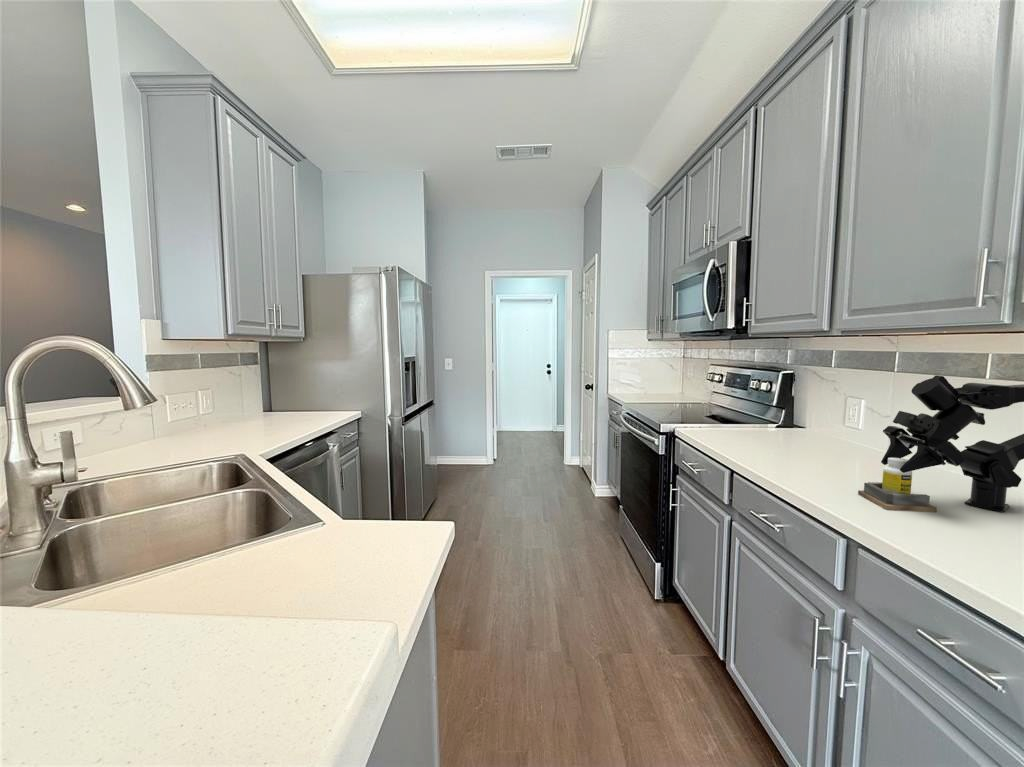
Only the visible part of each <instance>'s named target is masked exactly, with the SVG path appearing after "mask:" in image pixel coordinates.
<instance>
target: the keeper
mask: <svg viewBox="0 0 1024 767" xmlns="http://www.w3.org/2000/svg"><path fill="white" fill-rule="evenodd" d="M863 484H864V485H863V490H859V489H858V490H857V495H859V496H860V497H862V498H864V499H866V500H868V501H870V502H871V503H873V504H875V505H876V506H878V507H880V508H883V509H884V510H885V511H902V512H903V511H905V512H906V511H908V512H933V513H934V512H935V513H936V512H937V511H938V510H937V508H938V507H936V506H935V505H932V504H930V499H931V498H930V495H927V494H923V493H922V494H919V493H911V494H895V493H889V492H887V491H885V490H883V489H882V482H875V481H872V482H871V481H870V482H869V481H868V482H864V483H863Z"/></svg>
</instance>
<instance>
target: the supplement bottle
mask: <svg viewBox="0 0 1024 767" xmlns="http://www.w3.org/2000/svg"><path fill="white" fill-rule="evenodd" d="M908 460H909V459H907V458H888V464H887V465H885V466H884V467H883V471H882V482H881V483H882V489H883V490H885V491H887V492H889V493H895V494H912V492H911V491H912V482H913V481H912V480H913V471H909V472H905V473H903V472H901V471H900V468H901V467H902V466H903V465H904V464H905V463H906V462H907V461H908Z"/></svg>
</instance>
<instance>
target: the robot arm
mask: <svg viewBox="0 0 1024 767" xmlns="http://www.w3.org/2000/svg"><path fill="white" fill-rule="evenodd" d="M911 393H912V395H914V396H915V398H916V399H918V400H919V401H920V402H921V403H922V404H923V405H924V406H925V407H926V408H927V409H928V410H930V411H937V412H936V413H934V415H933V416H932V415H929V414H926V413H922V412H921V413H919V414H918V415H917V414H914V413H912V412H911V413H910V412H907V411H902V410H899V411H898V412H897V413H896V415H895V417H894V418H893V420H892V423H893V424H897V425H901V426H902V427H905V428H906V429H904V428H902V427H898V426H894V425H887V426H886V427H885V428H884V429H883V430H882V432H883V434H884V435H886V436H887V437H888V439H889V446H888V448H887V450H886V452H885V454H884V455H883V457H882V459H881V461H880V462H881V463H880V464H882V465H883V466H888V465H889V464H888V458H901V459H904V458H905V457H907V456H909V455H911V454H913V451H911V449H913V448H914V447H916V448H917V449H916V452H915V453H914V454H913V455H912V456H911V457H910V458H908V459H907V460H908V461H907V462H906V463H905V464H904V465H903V466H902V467H901V468H900V471H901V472H903V473H905V472H909V471H912V472H913V471H917V470H920V469H926V468H930V467H936V466H940V465H941V466H945V465H947V464H948V465H952V466H955V467H960V468H961V471H962V473H963V475H964V476H965V477H969V478H971V479H972V480H971V488H970V489H971V490H970V498H968V499H967V500H965V501H964V504H965V505H967V506H973V507H976V508H982V509H987V510H991V511H995V512H1001V513H1005V512H1006V511H1007V510H1008V509H1009V508H1010V507H1011V504H1009V503H1006V500H1007V489H1008V488H1009V489H1011V488H1018V487H1019V485H1020V483H1021V481H1022V478H1021V477H1020V475H1018V474H1017V473H1016V472H1015V469H1016V467H1017V466H1018V464H1019V463H1020V461H1022V460H1024V433H1022V434H1019V435H1017V436H1015V437H1012V438H1009V439H1007V440H1004V441H1003V442H1000V443H996V442H991V441H988V440H984V439H982V440H978V441H977V442H976V443H973V444H971V445H965V447H964V448H965V449H963V450H960V449H958V448H957V447H956V446H955V445H954V444H953V443H952V442H951V441H950V440H954V441H957V440H959V438H960V436H959V435H958V433H960V432H961V431H962V430H964V429H965V428H967V426H968V425H970V424H971V423H972V424H976V425H980V426H981V425H982V426H984V425H986V419H985V413H983V412H980V411H976V410H975V409H974V408H978V409H985V410H992V411H993V410H998V409H1003V408H1008V407H1010V406H1012V405H1014V404H1018V403H1024V383H1023V384H1012V385H1011V384H1009V385H1001V384H991V383H982V382H981V383H980V382H967V383H964V384H962V387H954V386H953V385H952V384H951V383H950V382H949V381H948V379H947V378H946V377H944V375H934V376H933V377H932V378H928V379H924V380H923V381H921V382H918V383H916V384H915V385H913V387H912V388H911Z"/></svg>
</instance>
